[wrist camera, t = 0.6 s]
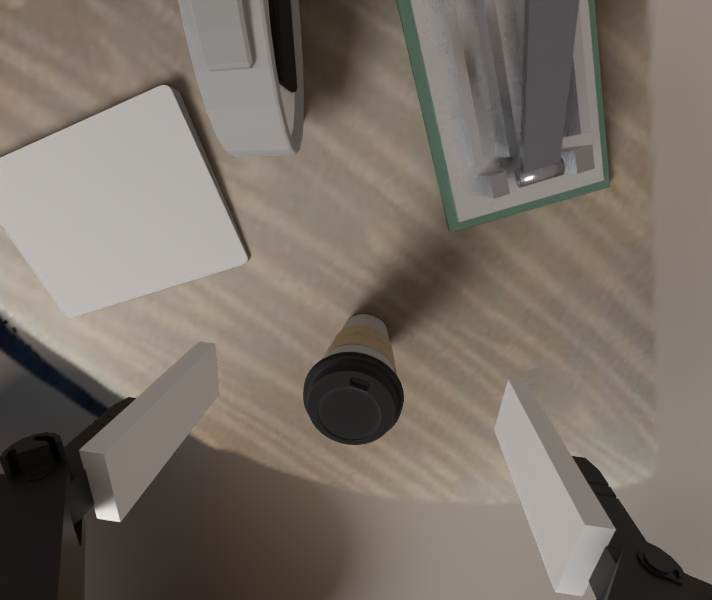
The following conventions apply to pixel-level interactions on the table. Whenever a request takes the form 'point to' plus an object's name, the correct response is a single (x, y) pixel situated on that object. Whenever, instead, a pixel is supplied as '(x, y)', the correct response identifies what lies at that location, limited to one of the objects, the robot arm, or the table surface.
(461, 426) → the table surface
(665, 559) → the robot arm
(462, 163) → the heatsink
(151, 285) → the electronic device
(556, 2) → the orange tipped grey lever
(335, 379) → the coffee cup
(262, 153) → the alarm clock
